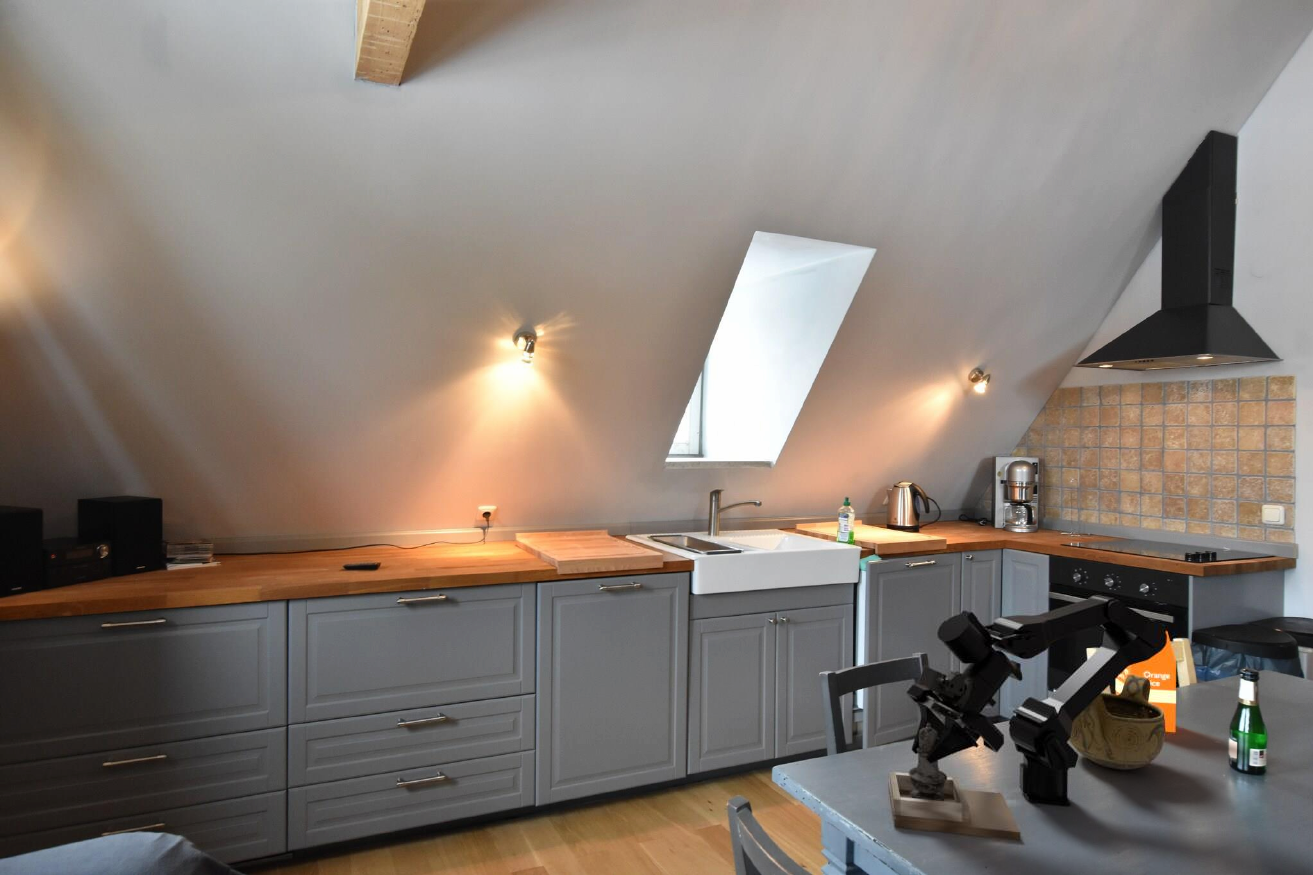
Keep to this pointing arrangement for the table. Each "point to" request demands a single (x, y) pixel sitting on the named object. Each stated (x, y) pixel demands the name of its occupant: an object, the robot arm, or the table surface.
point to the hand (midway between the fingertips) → (920, 756)
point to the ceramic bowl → (1121, 727)
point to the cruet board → (951, 810)
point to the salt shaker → (927, 769)
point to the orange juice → (1157, 682)
